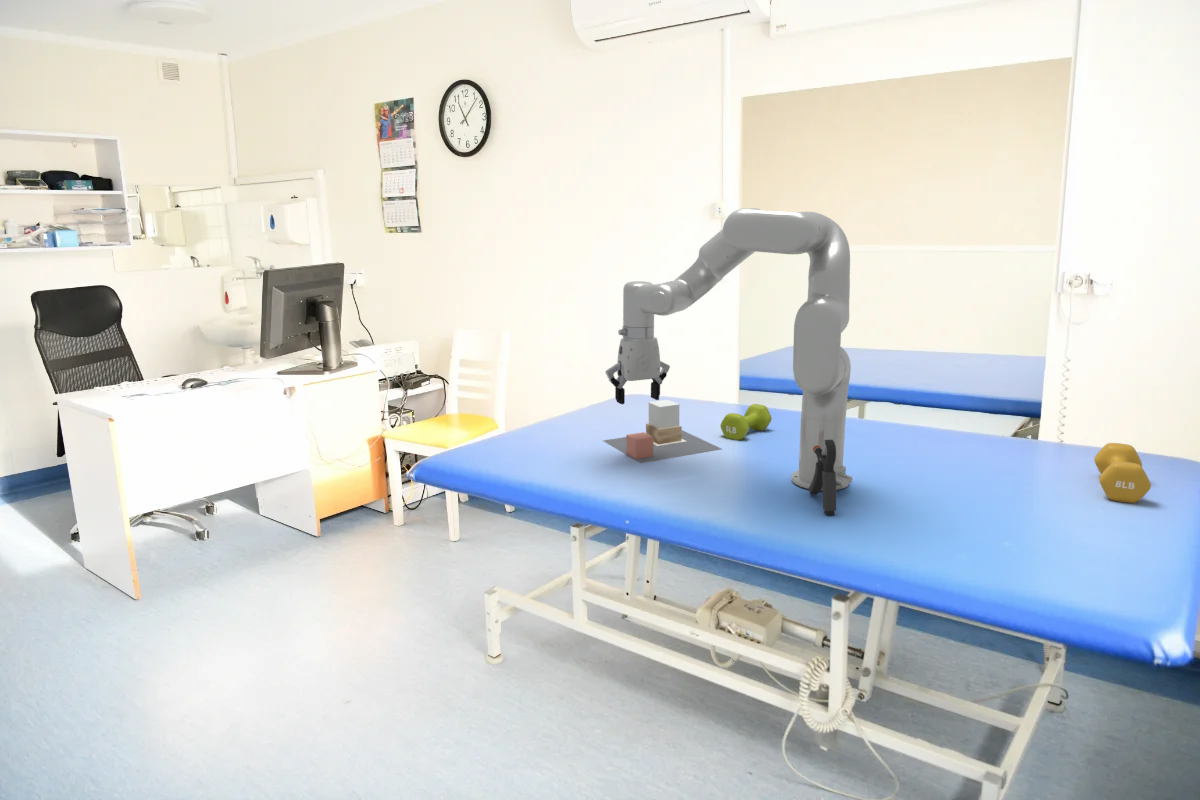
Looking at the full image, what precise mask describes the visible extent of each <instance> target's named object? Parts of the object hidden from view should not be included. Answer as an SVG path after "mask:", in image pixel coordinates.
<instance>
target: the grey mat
mask: <svg viewBox="0 0 1200 800" xmlns="http://www.w3.org/2000/svg"><path fill="white" fill-rule="evenodd" d="M602 441H603V442H604V443H605V444H607V445H608V446H611V447H612V448H614V449H616V450H617V451H619V452H621V453H622V454H624V455H626V456H628V457H629V458H631V459H632V460H634V461H636V462H638V463H639V464H643V463H649V462H650V463H651V462H655V461H663V460H668V459H675V458H681V457H686V456H692V455H697V454H703V453H709V452H714V451H721V450H722V451H723V448H721V447H719V446H717V445H715V444H712V443H710V442H708V441H706V440H704V439H702V438H699V437H698V436H695V435H694V434H691V433H689V432H687V431H685V430H682V441H677V442H671V443H665V444H657V443H655V442H653V456H651V457H645V458H639V459H635V458H633V457H631V456H630V455H628V454H627V445H626V436H624V437H623V436H622V437H618V438H617V437H616V438H611V439H610V438H609V439H604V440H602Z"/></svg>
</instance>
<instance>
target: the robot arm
mask: <svg viewBox="0 0 1200 800" xmlns="http://www.w3.org/2000/svg"><path fill="white" fill-rule="evenodd" d="M849 244H850V243H849V241H848V237H847V236H846V233H845V232H844V230H843V229H842V227H841V226H840V224H838V222H835V221H834V220H833V219H832V218H830V217H828V216H827V215H825V214H822V213H820V212H815V211H798V212H797V211H796V212H795V211H778V210H777V211H774V210H762V209H760V208H755V207H751V208H750V207H747V208H738V209H737V210H734V211H733V212H731V213H730V214H729V215H728V216H727V218H726V219H725V221H724V223H723V226H722V229H721V230H719V232H717V233H716V234H715V235H713V236H712V237H711V238H710V239H709V240H708V241H706V242H705V243H704V244H703V245H702V246H701V247H700V248H699V251H698V257H697V258H696V260H695V261H694V263H693V264H691V266H689V267H688V268H687V269H686V270H685V271H684V272H682V273H681V274H680V275H679V276H677V278H674V279H673V280H671V281H666V282H662V283H656V284H653V282H649V281H643V280H641V281H640V280H639V281H638V280H636V281H628V282H626V283H625V284H624V285H623V291H622V292H623V295H622V299H623V300H622V302H623V303H622V305H623V306H622V308H623V310H622V312H623V313H622V315H623V316H622V320H623V321H622V323H623V324H622V326H621V327H622V328H620V329H618V335H619V336H622V337H621V338H620V342H619V345H618V351H617V352H618V354H617V360H616V361H617V363H615V364H614V365H612V366H611V367H609V368H607V370H605V375H606V376H607V379H608V381H609V382H610V384H612V386H613V387H615V394H614V395H615V396H614V397H615V398H614V399H615V400H616V401H615V402H617V403H618V404H619V405H624V404H625V402H626V401H625V400H626V399H625V397H626V395H625V392H626V390H625V388H623V387H624V386H625V384H626V383H627V382H634V381H635V382H637V381H647V380H652V381H651V383H650V398H651V399H654V401H660V395H661V385H662V384H663V381H664V380H665V378H666V377H667V376H668V375H667V374H668V372H669V370H670V368H671V366H670V365H669V364H667V363H665V362H663V361H662V360H661V355H660V346H659V341H658V338H657V337H655V315H656V316H665V317H666V316H669V315H673V314H675V313H679V312H682V311H685V310H686V309H688V308H689V307H691V306H692V305H694V304H695V303H696V302H698V300H701V298H703V296H705V295H706V294H708V293H709V292H711V290H712V289H713V288H714V287H715V286H716V285H717V284H718V283H719V282H720V281H722V280H723V279H724V277H726V276H727V275H728V274H729V273H730V272H732V271H733V270H734V269H735V268H736V267H738V266H739V265H740V264H741V263H743V262H744V261H745V260H747V258H749V257H750V256H751V255H753V254H754V253H756V252H757V253H758V252H759V253H770V254H771V253H773V254H780V255H802V254H808V257H809V268H808V275H807V277H808V278H807V281H808V283H807V284H808V288H807V289H808V290H807V300H806V301H805V302H804V303H803V304H801V306H800V307H799V308H798V310H797V312H796V314H795V318H794V324H793V348H792V349H793V352H792V353H793V354H792V372H793V378H794V382H795V383H796V385H797V386H798V388H799V389H800V390H801V391H802V397H801V399H802V400H801V414H800V435H799V436H800V437H799V454H798V455H799V456H798V460H799V461H798V469H797V470H795V471H794V472H792V474H791V481H792V483H793V484H794V485H796V486H798V487H801V488H804V489H808V490H809V487H810V485H811V483H812V480H813V477H814V474H815V468H816V463H817V462H818V458H817V455H816V454H815V453H814V451H813V447H814V446H817V445H818V446H820V447H821V449H822V451H823V449H824V447H825V440H833V441H834V443H835V446H836V460H835V463H834V471H835V472H836V491H839V490H842V489H845V488H847V487H849V485H850V483H852V481H853V477H852V476H851V475H848V474H846V473H847V472H846V471H847V467H846V466H845V465H844V457H845V456H844V453H845V439H846V438H845V433H846V417H847V403H848V395H849V394H848V393H849V386H850V379H851V366H852V365H851V359H850V357H849V354H848V353H847V351H846V350H845V349H844V348H843V347H842V346H841V342H842V333H843V332H844V331H845V330H846V329H847V327H848V325H849V321H850V293H851V291H850V288H851V277H850V275H851V251H850V245H849ZM615 373H617V378H615V375H614V374H615ZM826 456H827V454H826ZM821 491H822V492H823V487H822V490H821Z"/></svg>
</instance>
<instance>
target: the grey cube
mask: <svg viewBox="0 0 1200 800" xmlns="http://www.w3.org/2000/svg"><path fill="white" fill-rule="evenodd" d="M648 423H649V424H650V425H652V426H654V427H656V428H658V429H664V428H671V427H677V426H679V425H680V403H677V402H674V401H672V400H670V399H661V400H654V401H649V402H648Z"/></svg>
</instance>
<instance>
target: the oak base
mask: <svg viewBox="0 0 1200 800" xmlns="http://www.w3.org/2000/svg"><path fill="white" fill-rule="evenodd" d="M682 427H683V426H682V425H680V424H679V426H677V427H671V428H664V429H658V428H656V427H654V426H652V425H650V424H649V422H647V423H645V433H646V434H648V435H650V436H652V437H653V442H655V443H657V444H665V443H671V442H677V441H682V429H683V428H682Z"/></svg>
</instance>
